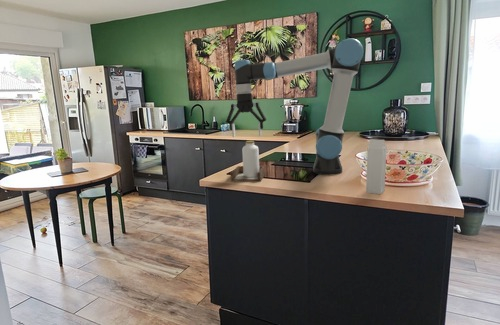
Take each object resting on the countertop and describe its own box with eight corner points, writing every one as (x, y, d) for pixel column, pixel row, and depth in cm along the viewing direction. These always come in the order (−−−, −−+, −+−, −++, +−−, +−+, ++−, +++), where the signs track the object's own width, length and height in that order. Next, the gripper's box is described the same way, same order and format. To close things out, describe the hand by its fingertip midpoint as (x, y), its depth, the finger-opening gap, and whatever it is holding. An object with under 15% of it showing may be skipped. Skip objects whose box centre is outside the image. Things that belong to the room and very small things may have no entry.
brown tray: (265, 174, 169) (265, 166, 168) (260, 181, 156) (260, 172, 155) (238, 174, 172) (237, 166, 171) (231, 181, 159) (230, 172, 158)
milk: (370, 188, 136) (371, 138, 132) (384, 190, 133) (387, 138, 128) (365, 192, 132) (367, 140, 127) (381, 194, 128) (383, 140, 123)
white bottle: (258, 177, 158) (256, 142, 154) (242, 177, 160) (240, 142, 156) (260, 173, 166) (259, 139, 162) (245, 173, 168) (243, 140, 164)
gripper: (270, 91, 155) (272, 134, 159) (222, 94, 161) (225, 136, 165) (268, 91, 148) (270, 136, 152) (217, 95, 153) (221, 138, 158)
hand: (247, 136), depth 159 cm, fingers open, 13 cm apart
